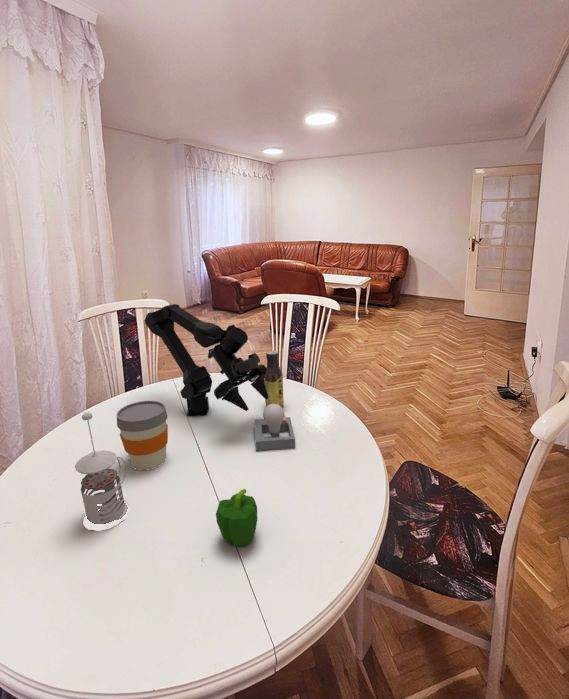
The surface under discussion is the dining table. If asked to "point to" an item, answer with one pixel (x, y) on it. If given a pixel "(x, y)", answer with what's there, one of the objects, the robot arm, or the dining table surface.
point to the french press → (101, 484)
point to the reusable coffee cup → (144, 433)
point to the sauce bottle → (273, 380)
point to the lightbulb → (273, 418)
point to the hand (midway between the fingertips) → (257, 404)
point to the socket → (276, 442)
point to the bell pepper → (237, 519)
